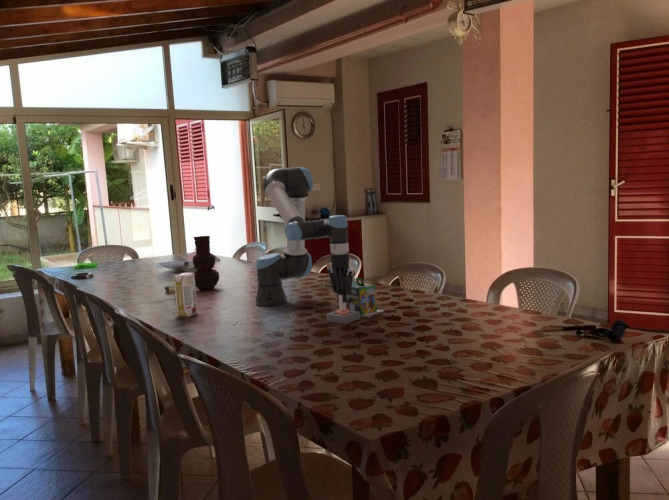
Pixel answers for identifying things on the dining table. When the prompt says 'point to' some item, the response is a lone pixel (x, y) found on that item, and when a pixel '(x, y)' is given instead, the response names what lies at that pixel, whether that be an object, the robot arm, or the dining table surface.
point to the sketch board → (372, 313)
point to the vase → (204, 265)
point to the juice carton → (185, 294)
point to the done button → (343, 312)
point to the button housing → (343, 317)
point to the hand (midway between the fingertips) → (342, 309)
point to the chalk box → (362, 297)
